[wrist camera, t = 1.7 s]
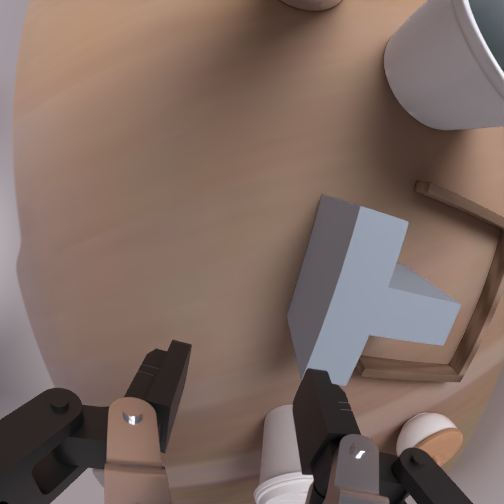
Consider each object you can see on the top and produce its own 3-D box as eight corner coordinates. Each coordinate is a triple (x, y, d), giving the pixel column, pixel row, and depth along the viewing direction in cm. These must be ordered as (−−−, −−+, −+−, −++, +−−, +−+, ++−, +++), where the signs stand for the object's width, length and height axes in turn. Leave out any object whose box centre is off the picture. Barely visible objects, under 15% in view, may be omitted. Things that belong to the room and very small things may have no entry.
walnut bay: (416, 181, 31) (430, 182, 28) (508, 223, 32) (522, 227, 29) (354, 362, 36) (360, 376, 34) (450, 371, 37) (460, 382, 35)
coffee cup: (335, 411, 38) (360, 494, 24) (291, 448, 40) (302, 527, 26) (282, 385, 37) (294, 478, 23) (239, 426, 39) (236, 512, 25)
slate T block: (321, 194, 31) (360, 206, 20) (416, 224, 32) (480, 248, 20) (286, 316, 35) (301, 380, 23) (378, 333, 35) (419, 390, 24)
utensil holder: (410, 152, 30) (523, 147, 13) (353, 35, 27) (423, -49, 10) (489, 120, 29) (589, 112, 12) (442, 19, 25) (521, -32, 8)
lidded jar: (439, 432, 41) (459, 466, 32) (386, 453, 42) (402, 492, 33) (447, 392, 39) (474, 428, 29) (389, 415, 39) (410, 457, 30)
